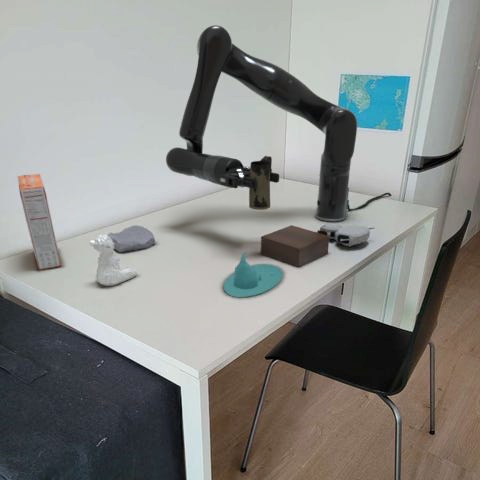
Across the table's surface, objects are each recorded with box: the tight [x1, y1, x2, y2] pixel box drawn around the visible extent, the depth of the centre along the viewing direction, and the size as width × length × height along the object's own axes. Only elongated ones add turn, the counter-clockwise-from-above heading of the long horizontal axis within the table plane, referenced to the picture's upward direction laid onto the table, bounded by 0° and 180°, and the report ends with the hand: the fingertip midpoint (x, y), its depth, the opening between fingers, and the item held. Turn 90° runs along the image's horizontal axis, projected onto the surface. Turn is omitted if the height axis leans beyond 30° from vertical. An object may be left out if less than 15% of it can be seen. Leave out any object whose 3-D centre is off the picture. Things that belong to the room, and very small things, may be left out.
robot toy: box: [316, 222, 376, 248], centre depth 139 cm, size 12×4×15 cm
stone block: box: [107, 224, 156, 253], centre depth 136 cm, size 12×5×10 cm
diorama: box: [223, 252, 283, 299], centre depth 115 cm, size 12×20×9 cm, turn 151°
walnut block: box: [260, 224, 330, 268], centre depth 130 cm, size 13×13×5 cm
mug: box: [248, 155, 273, 211], centre depth 123 cm, size 8×6×12 cm
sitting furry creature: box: [88, 233, 138, 287], centre depth 114 cm, size 10×9×12 cm
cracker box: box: [17, 173, 62, 271], centre depth 123 cm, size 14×6×21 cm, turn 23°
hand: (267, 181), depth 122 cm, fingers closed on mug, 8 cm apart
